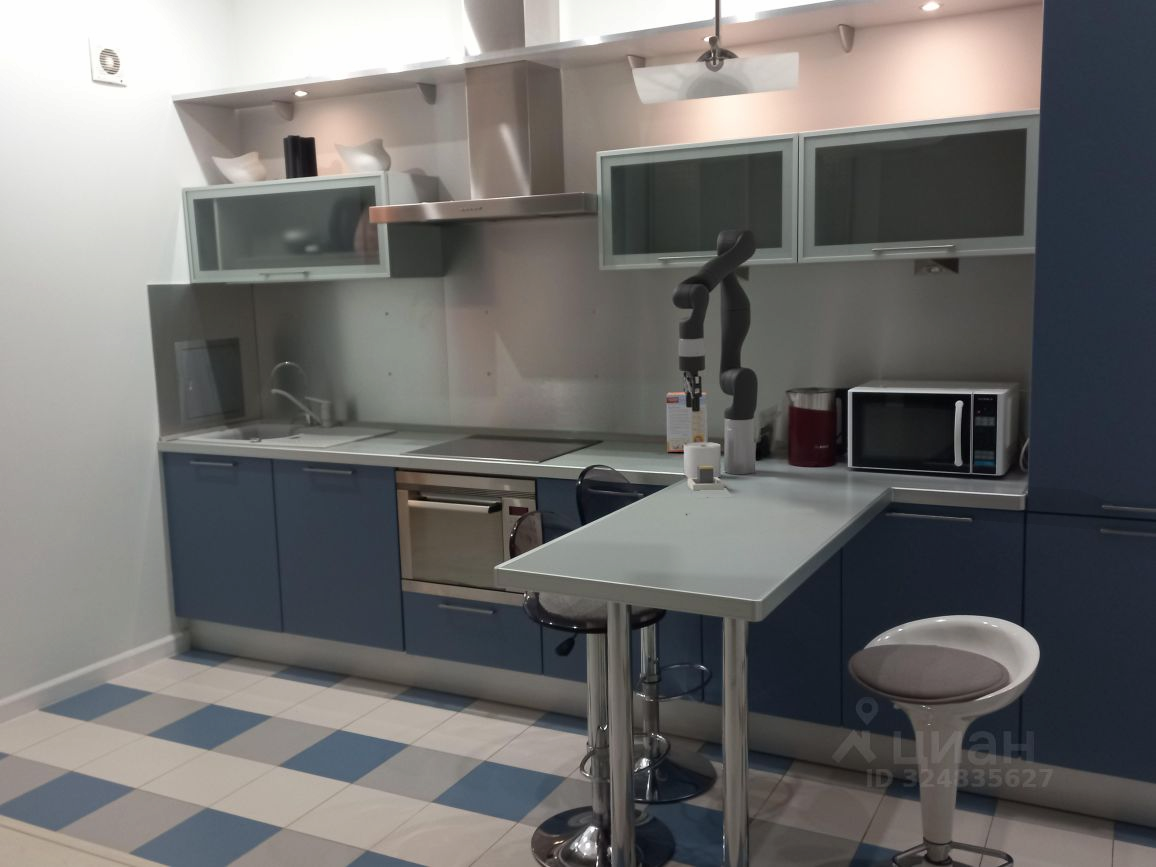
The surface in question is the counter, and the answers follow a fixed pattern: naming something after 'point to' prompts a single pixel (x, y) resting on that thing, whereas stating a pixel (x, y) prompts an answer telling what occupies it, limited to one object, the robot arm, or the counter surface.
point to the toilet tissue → (701, 458)
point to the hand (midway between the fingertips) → (692, 409)
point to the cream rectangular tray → (715, 485)
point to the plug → (704, 474)
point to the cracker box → (685, 422)
